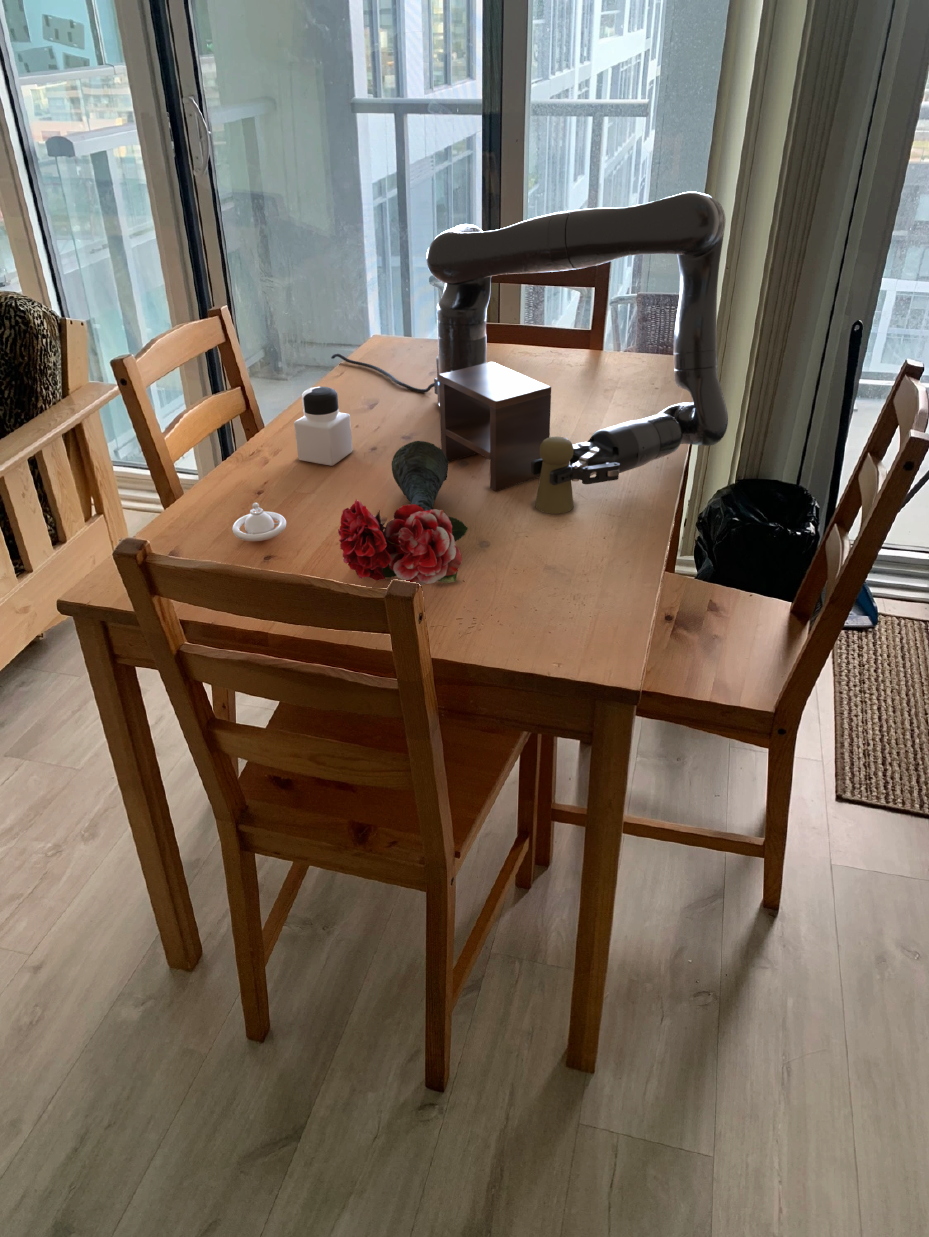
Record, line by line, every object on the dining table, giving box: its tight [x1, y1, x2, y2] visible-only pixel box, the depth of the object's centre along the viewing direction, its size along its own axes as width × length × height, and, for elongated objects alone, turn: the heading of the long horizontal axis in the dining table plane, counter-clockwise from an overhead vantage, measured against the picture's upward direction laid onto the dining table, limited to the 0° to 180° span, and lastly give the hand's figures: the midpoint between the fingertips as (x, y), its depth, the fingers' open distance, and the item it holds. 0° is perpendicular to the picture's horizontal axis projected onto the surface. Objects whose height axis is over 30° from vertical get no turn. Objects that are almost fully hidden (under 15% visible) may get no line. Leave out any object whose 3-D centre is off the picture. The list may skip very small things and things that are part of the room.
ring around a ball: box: [232, 502, 287, 542], centre depth 139 cm, size 8×6×8 cm
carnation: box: [337, 440, 469, 586], centre depth 135 cm, size 16×18×35 cm
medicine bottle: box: [293, 386, 354, 467], centre depth 162 cm, size 7×7×12 cm
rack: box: [439, 361, 552, 492], centre depth 156 cm, size 16×11×15 cm
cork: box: [534, 436, 574, 515], centre depth 145 cm, size 6×6×11 cm
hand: (542, 473), depth 143 cm, fingers closed on cork, 4 cm apart
